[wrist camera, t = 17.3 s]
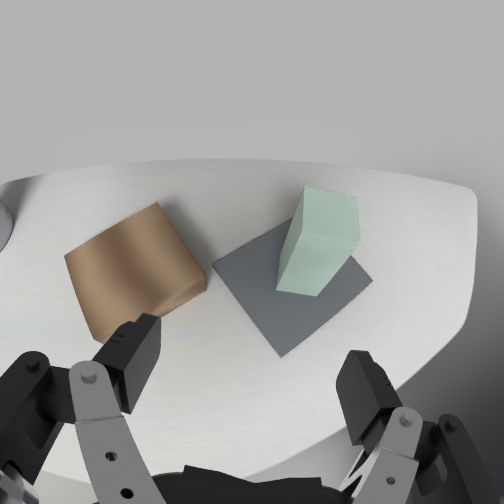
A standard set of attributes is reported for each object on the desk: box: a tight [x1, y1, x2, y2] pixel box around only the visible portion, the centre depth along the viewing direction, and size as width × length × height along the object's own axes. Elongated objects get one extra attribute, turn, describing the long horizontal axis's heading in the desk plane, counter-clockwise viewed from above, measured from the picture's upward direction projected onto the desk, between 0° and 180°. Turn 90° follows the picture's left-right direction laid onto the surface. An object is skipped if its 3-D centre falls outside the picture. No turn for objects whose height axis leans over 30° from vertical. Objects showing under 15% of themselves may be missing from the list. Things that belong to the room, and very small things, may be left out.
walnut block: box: [64, 203, 207, 344], centre depth 26 cm, size 12×10×4 cm
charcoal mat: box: [212, 218, 373, 357], centre depth 29 cm, size 14×12×1 cm
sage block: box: [276, 185, 360, 296], centre depth 24 cm, size 4×4×11 cm
